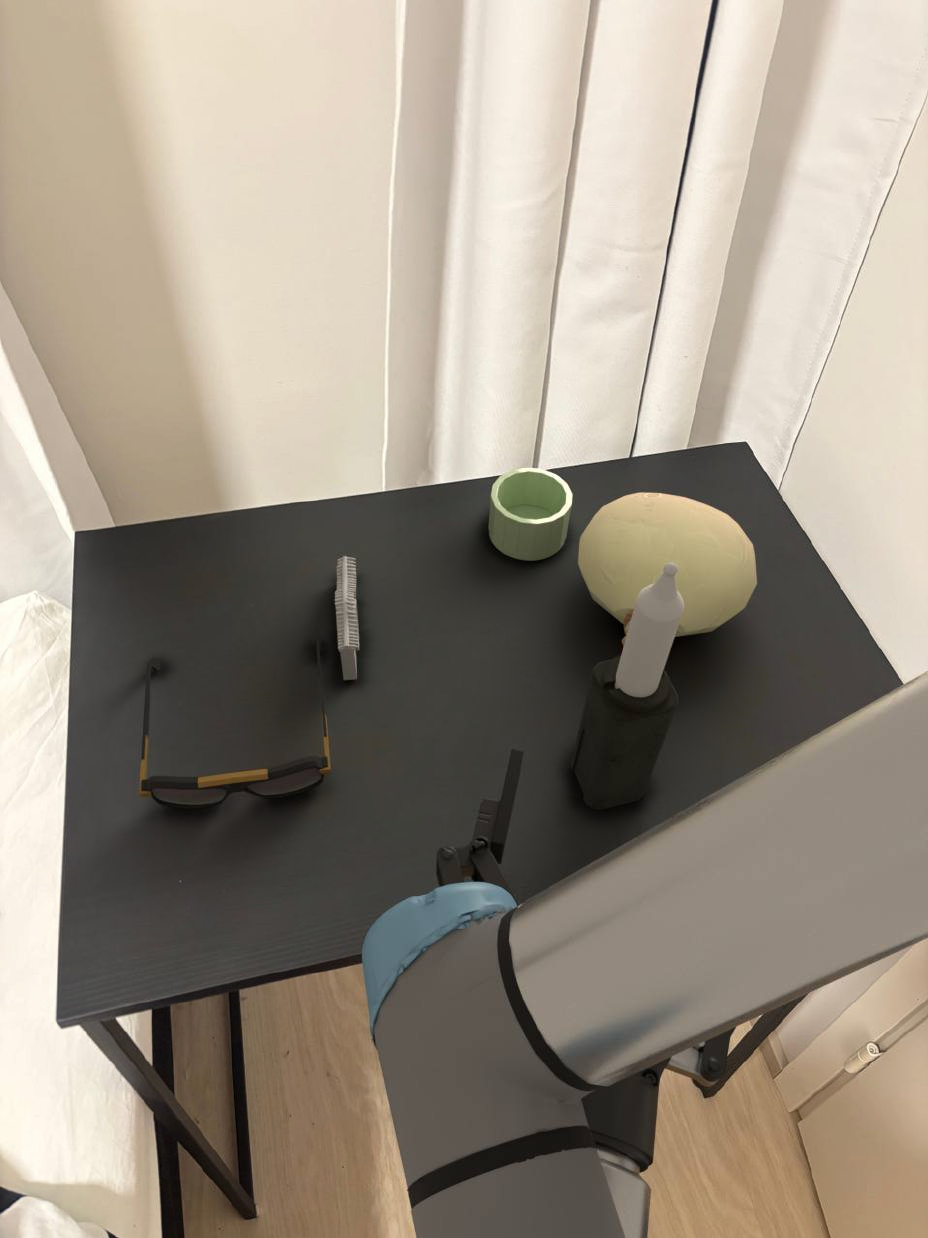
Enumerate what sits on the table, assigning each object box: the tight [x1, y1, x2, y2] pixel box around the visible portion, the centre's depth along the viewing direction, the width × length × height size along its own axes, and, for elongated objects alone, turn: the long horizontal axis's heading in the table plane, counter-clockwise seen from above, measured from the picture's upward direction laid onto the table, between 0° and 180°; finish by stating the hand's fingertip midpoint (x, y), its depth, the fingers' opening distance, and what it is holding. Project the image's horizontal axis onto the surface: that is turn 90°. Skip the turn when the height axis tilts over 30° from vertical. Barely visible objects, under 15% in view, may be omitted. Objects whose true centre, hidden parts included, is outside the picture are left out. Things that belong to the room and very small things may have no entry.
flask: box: [577, 491, 758, 647], centre depth 81 cm, size 9×16×18 cm
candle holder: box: [487, 467, 573, 562], centre depth 89 cm, size 8×8×5 cm
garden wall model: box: [334, 555, 360, 681], centre depth 80 cm, size 12×2×6 cm, turn 6°
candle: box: [570, 562, 684, 811], centre depth 64 cm, size 5×5×25 cm
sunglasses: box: [138, 638, 332, 810], centre depth 73 cm, size 14×15×5 cm
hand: (622, 782), depth 58 cm, fingers open, 13 cm apart
